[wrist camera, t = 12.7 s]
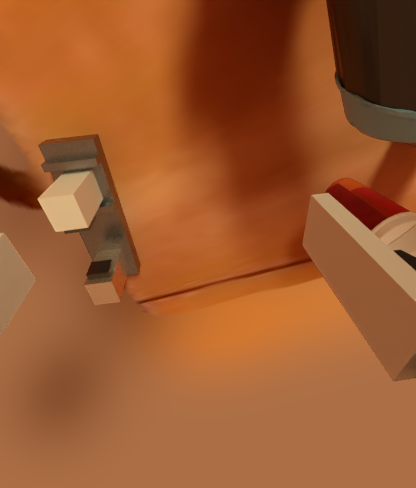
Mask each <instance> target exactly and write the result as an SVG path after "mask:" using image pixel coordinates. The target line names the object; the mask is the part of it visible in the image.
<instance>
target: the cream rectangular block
mask: <svg viewBox="0 0 416 488" xmlns="http://www.w3.org/2000/svg"><path fill="white" fill-rule="evenodd" d="M102 200H103V197H102V194H101V191H100V189H99V186H98V183H97V181H96V178H95V176H94V173H93V170H92V169H90V170H82V171H74V172H67V173H62V174H61V175H60V177H59V178H58V179H57V180H56V181H55V182H54V183H53V184H52V185H51V186H50V187H49V188H48V189H47V190H46V191H45V192H44V193H43V194H42V195H41V196H40V197H39V198H38V201H39V203H40V204H41V206H42V208H43V210H44V212H45V213H46V215H47V217H48V219H49V221H50V222H51V224H52V226H53V228H54V230H55V231H56V232H58V231H64V232H65V234H66V233H73V232H82V231H89V230H91V228H92V226H93V224H94V222H95V220H96V217H95V214H96V212H97V210H98V208H99V206H100V204H101V202H102Z"/></svg>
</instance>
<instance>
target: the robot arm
mask: <svg viewBox="0 0 416 488" xmlns="http://www.w3.org/2000/svg"><path fill="white" fill-rule="evenodd" d="M326 2H327V9H328V16H329V23H330V31H331V38H332V45H333V52H334V59H335V67H336V72H335V81H336V84H337V87H338V88H339V90H340V92H341V97H342V102H343V107H344V112H345V115H346V118H347V120H348V121H349V123H350V124H351V125H353V126H354V127H356V128H357V129H358V130H359V131H360V132H361V133H363V134H365V135H367V136H370V137H373V138H376V139H380V140H385V141H391V142H403V143H416V0H326ZM302 246H303V247H304V249H305V250H306V252H307V253H308V255H309V256H310V258H311V259H312V261H313V262H314V264H315V265H316V267H317V268H318V270H319V271H320V273H321V274H322V276H323V277H324V279H325V280H326V282H327V283H328V285H329V286H330V288H331V289H332V291H333V292H334V294H335V295H336V297H337V298H338V300H339V301H340V303H341V304H342V305H343V307H344V308H345V310H346V311H347V313H348V314H349V316H350V317H351V319H352V320H353V322H354V323H355V325H356V326H357V328H358V329H359V331H360V332H361V334H362V335H363V337H364V338H365V340H366V341H367V343H368V344H369V345H370V347H371V349H372V350H373V352H374V353H375V355H376V356H377V358H378V359H379V361H380V362H381V364H382V365H383V366H384V368H385V370H386V371H387V373H388V374H389V375H390V377H391V378H392V380H393V381H398V380H406V379H412V378H416V257H414V256H412V255H410V254H408V253H406V252H404V251H402V250H392V249H391V248H390V247H388V246H387V245H386V244H385V243H384V242H383V241H382V240H381V239H379V238H378V237H377V236H376V235H375V234H374V233H373V232H372V231H370V230H369V229H368V228H367V227H366V226H365V225H364V224H363V223H361V222H360V221H359V220H358V219H357V218H356V217H355V216H354V215H353V214H351V213H350V212H349V211H348V210H347V209H346V208H345V207H344V206H342V205H341V204H340V203H339V202H338V201H337V200H336V199H335V198H333V197H332V196H331V195H330V194H329V193H322V194H314V195H311V197H310V203H309V209H308V214H307V220H306V226H305V231H304V237H303V243H302ZM35 281H36V278H35V277H34V276H33V274H32V273H31V271H30V270H29V268H28V267H27V265H26V264H25V263H24V261H23V260H22V258H21V257H20V255H19V254H18V252H17V251H16V250H15V248H14V247H13V245H12V244H11V242H10V241H9V239H8V238H7V236H6V235H5V234H4V233H0V337H1V335H2V334H3V332H4V330H5V329H6V327H7V326H8V324H9V323H10V321H11V319H12V318H13V316H14V315H15V313H16V312H17V310H18V308H19V307H20V305H21V304H22V302H23V300H24V299H25V297H26V296H27V294H28V292H29V291H30V289H31V288H32V286H33V284H34V283H35Z"/></svg>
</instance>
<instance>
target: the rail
mask: <svg viewBox="0 0 416 488" xmlns="http://www.w3.org/2000/svg"><path fill="white" fill-rule="evenodd" d="M38 146H39V148H40V150H41V152H42V154H43V156H44V158H45V162H44V163H43V164H41V166H42V168H43V170H44V172H51V173H52V175H53V178H54V180H55V181H56V180H57V179H58V178H59V177H60V175H61V174H62V173H67V172H74V171H82V170H90V169H92V170H93V173H94V176H95V178H96V181H97V183H98V186H99V189H100V191H101V194H102V197H103V200H102V202H101V204H100V206H99V208H98V210H97V212H96V214H95V217H96V220H95V222H94V224H93V226H92V228H91V230H89V231H82V232H79V233H80V235H81V237H82V239H83V241H84V243H85V245H86V247H87V250H88V252H89V254H90V256H91V258H92V260H93V262H91V265H90V267H89V270H88V272H87V275H86V276H87V279H86V282H85V284H84V286H85V288H86V290H87V292H88V294H89V295H90V297H91V299H92V301H93V303H94V305H102V304H109V303H117V302H121V298H122V294H123V289H124V285H125V281H126V276H127V275H134V274H139V271H140V262H139V259H138V256H137V253H136V249H135V246H134V243H133V240H132V237H131V234H130V231H129V228H128V225H127V222H126V219H125V216H124V213H123V210H122V207H121V204H120V200H119V197H118V194H117V191H116V188H115V185H114V182H113V179H112V176H111V173H110V170H109V167H108V164H107V161H106V158H105V154H104V151H103V148H102V145H101V142H100V139H99V136H98V134H95V135H86V136H77V137H69V138H60V139H51V140H46V141H44V142H42V143H41V144H39V145H38Z"/></svg>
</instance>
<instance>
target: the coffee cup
mask: <svg viewBox="0 0 416 488" xmlns="http://www.w3.org/2000/svg"><path fill="white" fill-rule="evenodd" d="M326 193H329V194H330V195H331V196H332V197H333V198H335V199H336V200H337V201H338V202H339V203H340V204H341V205H342V206H344V207H345V208H346V209H347V210H348V211H349V212H350V213H351V214H353V215H354V216H355V217H356V218H357V219H358V220H359V221H360V222H361V223H363V224H364V225H365V226H366V227H367V228H368V229H369V230H370V231H372V232H373V233H374V234H375V235H376V236H377V237H378V238H379V239H381V240H382V241H383V242H384V243H385V244H386V245H387V246H388V247H390V248H391V249H392V250H402V251H404V252H406V253H408V254H410V255H412V256H414V257H415V256H416V212H411V211H409V210H407V209H405V208H403V207H402V206H400V205H398V204H396V203H395V202H393V201H391V200H389V199H387V198H386V197H384V196H382V195H380V194H379V193H377V192H375V191H373V190H371V189H370V188H368V187H366V186H364V185H362V184H360V183H359V182H357V181H355V180H352V179H348V178H345V179H341V180H338V181H336V182H335V183H333V184H332V185H331V186H330V187H329V188H328V189H327V191H326Z"/></svg>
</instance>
